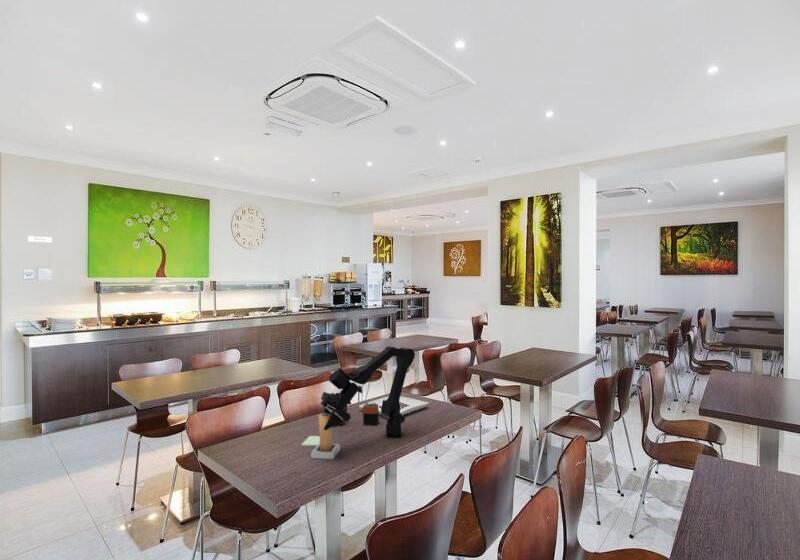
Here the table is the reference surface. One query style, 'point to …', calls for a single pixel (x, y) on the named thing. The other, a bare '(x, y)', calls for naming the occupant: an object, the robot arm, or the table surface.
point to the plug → (325, 433)
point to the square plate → (412, 403)
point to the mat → (311, 441)
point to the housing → (325, 452)
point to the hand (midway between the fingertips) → (322, 427)
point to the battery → (370, 414)
